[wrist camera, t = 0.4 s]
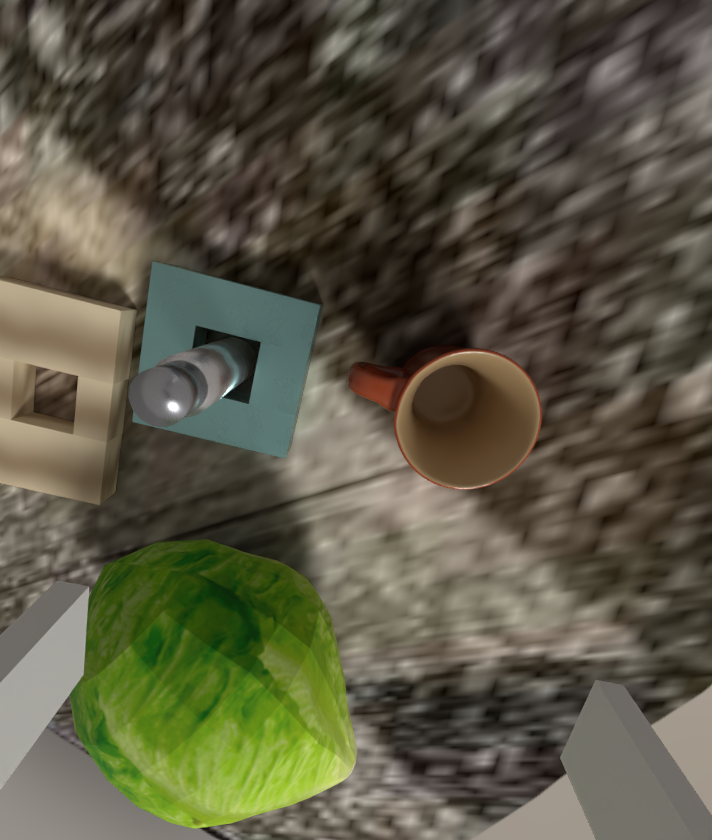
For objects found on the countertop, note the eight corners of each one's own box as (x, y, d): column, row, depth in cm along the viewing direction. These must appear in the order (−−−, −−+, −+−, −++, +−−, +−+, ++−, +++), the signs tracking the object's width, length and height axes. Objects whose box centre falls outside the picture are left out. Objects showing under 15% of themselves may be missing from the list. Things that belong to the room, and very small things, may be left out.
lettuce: (274, 730, 46) (228, 971, 30) (87, 568, 41) (-94, 751, 24) (415, 633, 43) (452, 843, 26) (232, 444, 38) (134, 559, 21)
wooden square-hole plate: (6, 276, 34) (-20, 275, 32) (137, 310, 35) (120, 310, 32) (-2, 465, 38) (-26, 476, 36) (115, 492, 39) (99, 505, 36)
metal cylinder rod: (215, 332, 35) (126, 354, 22) (259, 343, 35) (199, 372, 22) (208, 375, 36) (118, 423, 23) (251, 386, 36) (189, 439, 23)
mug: (509, 355, 36) (567, 377, 26) (466, 452, 38) (505, 507, 28) (368, 304, 35) (372, 307, 25) (332, 407, 37) (323, 448, 27)
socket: (169, 264, 34) (152, 261, 31) (323, 304, 34) (320, 305, 32) (149, 412, 37) (132, 421, 34) (290, 446, 38) (285, 458, 35)
